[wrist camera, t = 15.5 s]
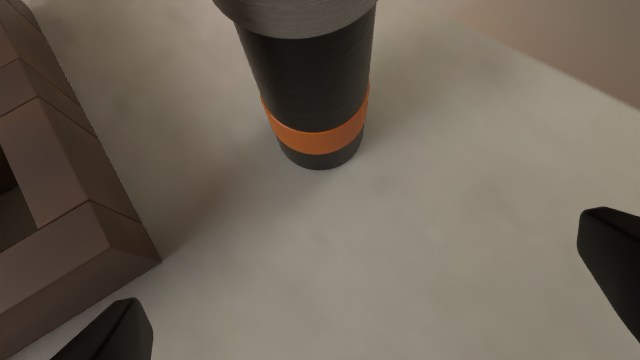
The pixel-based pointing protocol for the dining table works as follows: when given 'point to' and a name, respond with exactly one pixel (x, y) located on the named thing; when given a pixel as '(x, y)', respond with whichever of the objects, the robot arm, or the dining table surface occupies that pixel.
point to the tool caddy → (57, 194)
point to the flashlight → (309, 72)
